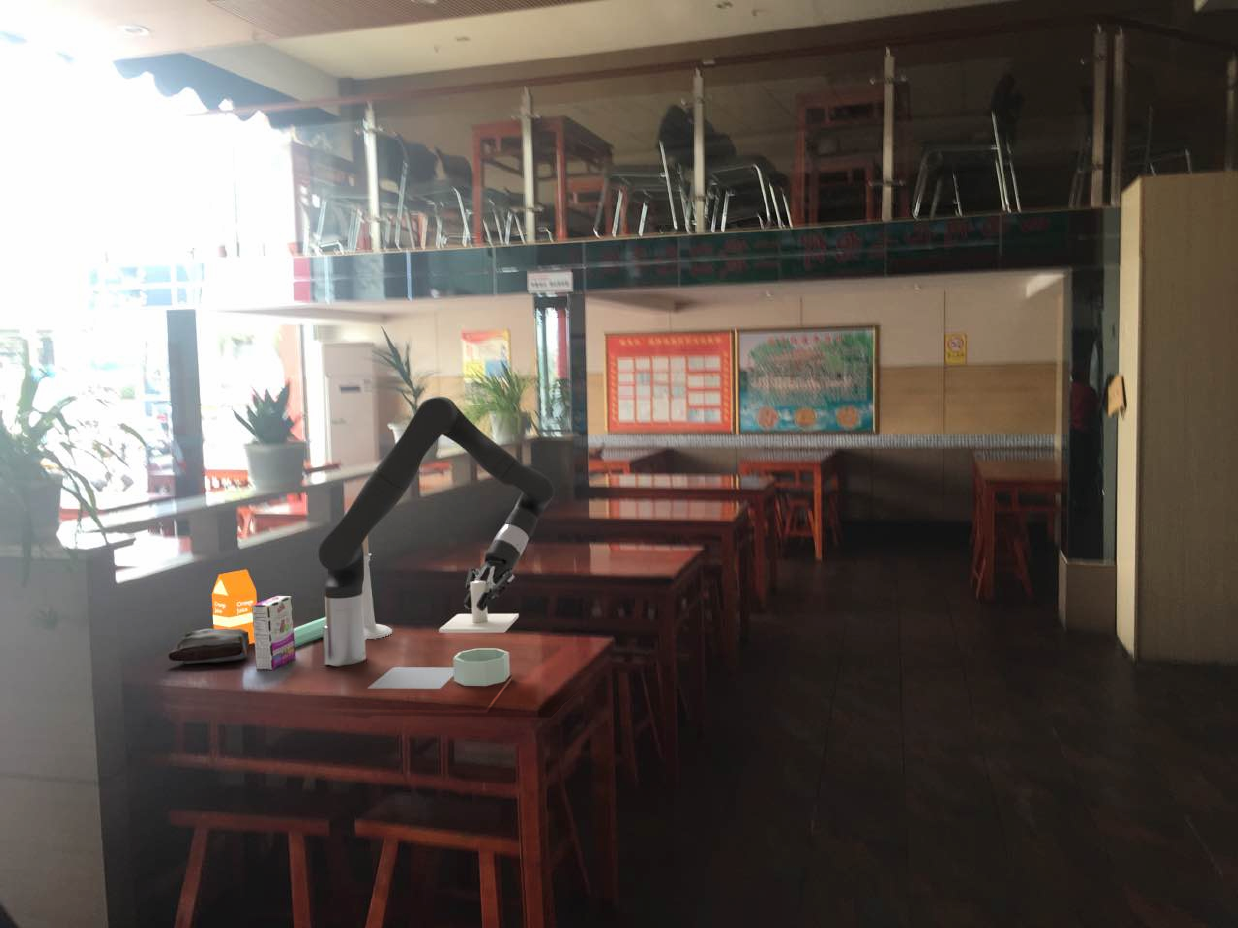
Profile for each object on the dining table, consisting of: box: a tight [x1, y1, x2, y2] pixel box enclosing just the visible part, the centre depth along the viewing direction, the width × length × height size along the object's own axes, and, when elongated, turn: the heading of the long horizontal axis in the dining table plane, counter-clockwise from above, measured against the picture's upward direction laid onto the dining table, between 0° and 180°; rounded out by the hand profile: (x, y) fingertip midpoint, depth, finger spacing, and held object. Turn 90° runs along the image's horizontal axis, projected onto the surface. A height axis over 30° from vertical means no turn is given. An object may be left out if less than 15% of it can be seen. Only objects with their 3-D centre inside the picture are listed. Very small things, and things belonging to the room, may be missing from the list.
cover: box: [438, 580, 520, 634], centre depth 227 cm, size 15×15×10 cm
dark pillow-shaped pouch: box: [168, 628, 250, 665], centre depth 252 cm, size 18×11×8 cm, turn 94°
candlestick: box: [362, 534, 393, 641], centre depth 275 cm, size 13×13×30 cm
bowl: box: [452, 647, 511, 687], centre depth 228 cm, size 12×12×6 cm
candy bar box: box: [252, 595, 297, 671], centre depth 247 cm, size 11×5×16 cm, turn 168°
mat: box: [367, 666, 454, 690], centre depth 230 cm, size 17×17×1 cm
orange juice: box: [211, 569, 258, 645], centre depth 270 cm, size 8×9×20 cm
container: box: [294, 616, 326, 648], centre depth 270 cm, size 6×6×25 cm
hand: (473, 607), depth 226 cm, fingers closed on cover, 3 cm apart
